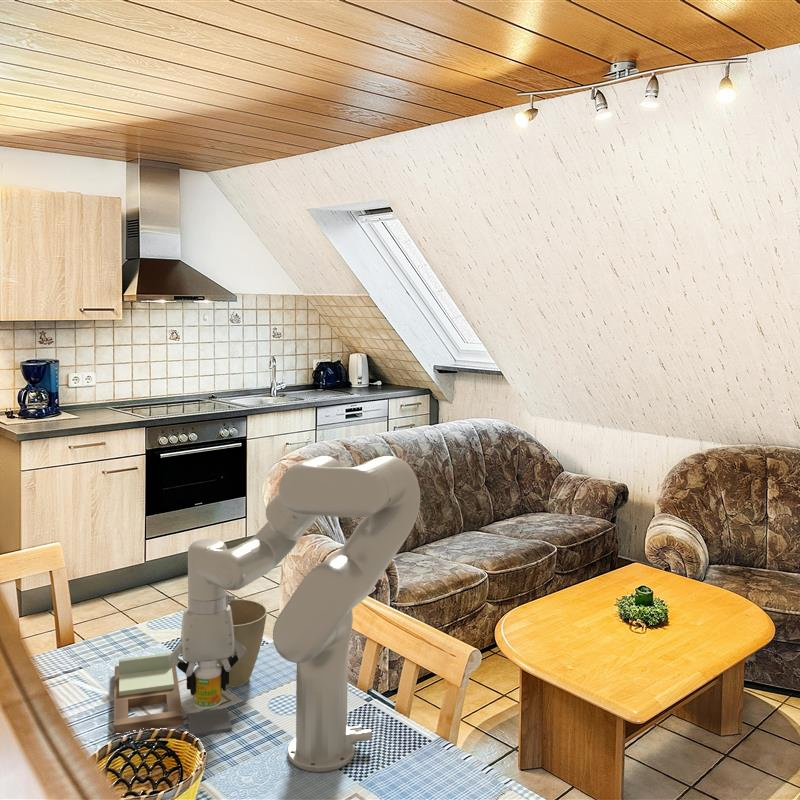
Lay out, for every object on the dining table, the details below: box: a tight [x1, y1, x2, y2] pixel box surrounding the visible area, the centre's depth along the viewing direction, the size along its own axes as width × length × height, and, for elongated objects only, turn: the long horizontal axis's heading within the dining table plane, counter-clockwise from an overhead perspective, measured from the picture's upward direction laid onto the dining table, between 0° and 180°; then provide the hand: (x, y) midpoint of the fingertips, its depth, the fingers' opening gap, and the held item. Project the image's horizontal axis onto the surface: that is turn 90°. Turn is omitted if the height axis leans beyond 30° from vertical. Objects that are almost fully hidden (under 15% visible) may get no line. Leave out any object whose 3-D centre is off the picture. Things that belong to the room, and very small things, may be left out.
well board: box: [113, 664, 184, 735], centre depth 168 cm, size 13×26×2 cm, turn 19°
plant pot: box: [218, 598, 268, 688], centre depth 176 cm, size 15×15×16 cm
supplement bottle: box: [193, 659, 223, 710], centre depth 158 cm, size 5×5×10 cm
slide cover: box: [118, 652, 174, 696], centre depth 171 cm, size 11×9×4 cm
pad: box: [186, 707, 233, 737], centre depth 159 cm, size 8×8×1 cm
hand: (207, 688), depth 158 cm, fingers closed on supplement bottle, 5 cm apart
